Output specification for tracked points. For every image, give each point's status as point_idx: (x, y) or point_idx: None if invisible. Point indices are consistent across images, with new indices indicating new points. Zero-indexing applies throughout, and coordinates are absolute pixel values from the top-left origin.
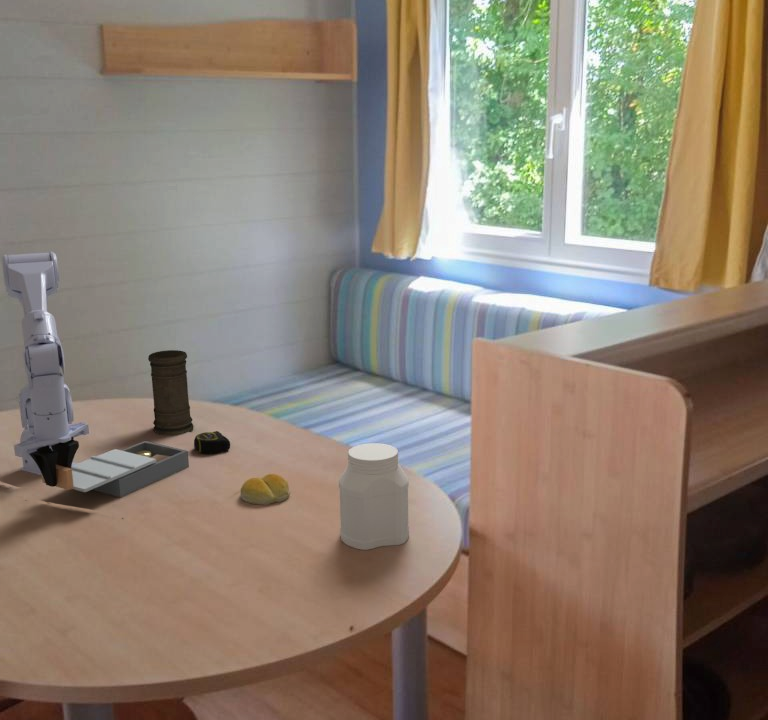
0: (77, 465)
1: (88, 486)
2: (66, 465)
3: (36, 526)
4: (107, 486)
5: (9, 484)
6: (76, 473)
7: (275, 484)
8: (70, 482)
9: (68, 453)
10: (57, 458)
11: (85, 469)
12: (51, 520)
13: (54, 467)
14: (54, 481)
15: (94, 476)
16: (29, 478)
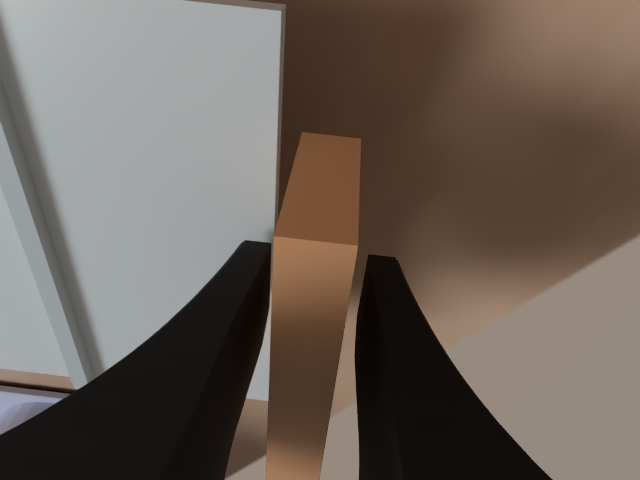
0: (32, 357)
1: (212, 25)
2: (232, 336)
3: (556, 143)
4: None
5: (239, 462)
6: (106, 292)
7: None
8: (325, 164)
9: (178, 442)
10: (223, 459)
11: (34, 275)
12: (459, 126)
13: (408, 373)
14: (395, 277)
15: (41, 149)
16: None
